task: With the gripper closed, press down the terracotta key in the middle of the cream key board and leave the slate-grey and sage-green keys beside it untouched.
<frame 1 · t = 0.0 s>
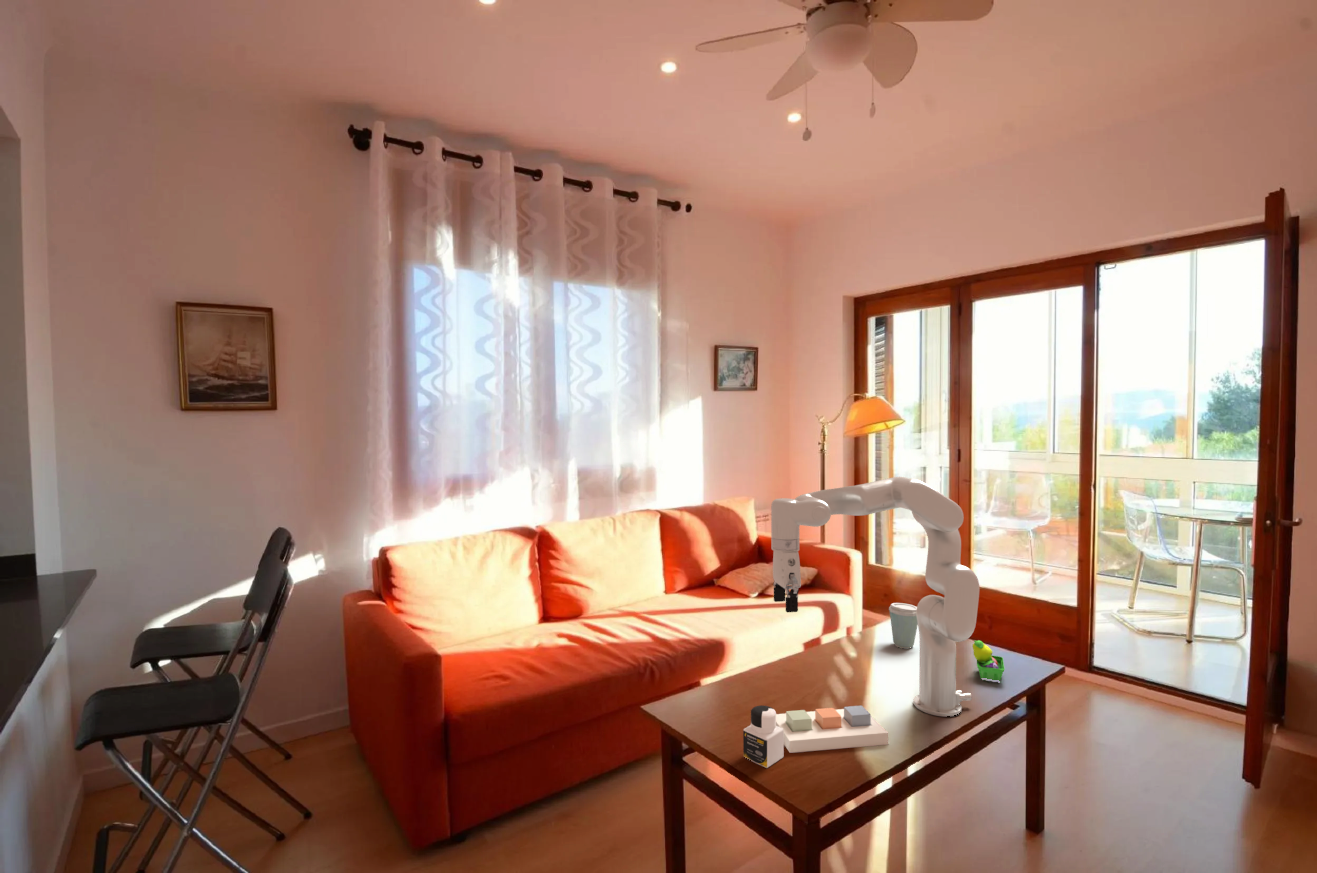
hand: (785, 606, 172), 31 cm above the table, tool pointing down, fingers open, 9 cm apart
disposable coffee cup: (904, 646, 227), on the table
key sage: (798, 722, 163), point 4 cm above the table, slide at 0.0 cm
key slate: (857, 718, 165), point 4 cm above the table, slide at 0.0 cm
key terracotta: (828, 720, 164), point 4 cm above the table, slide at 0.0 cm
fruit basket: (987, 677, 200), on the table
key board: (828, 734, 164), on the table
medicine bottle: (763, 758, 154), on the table
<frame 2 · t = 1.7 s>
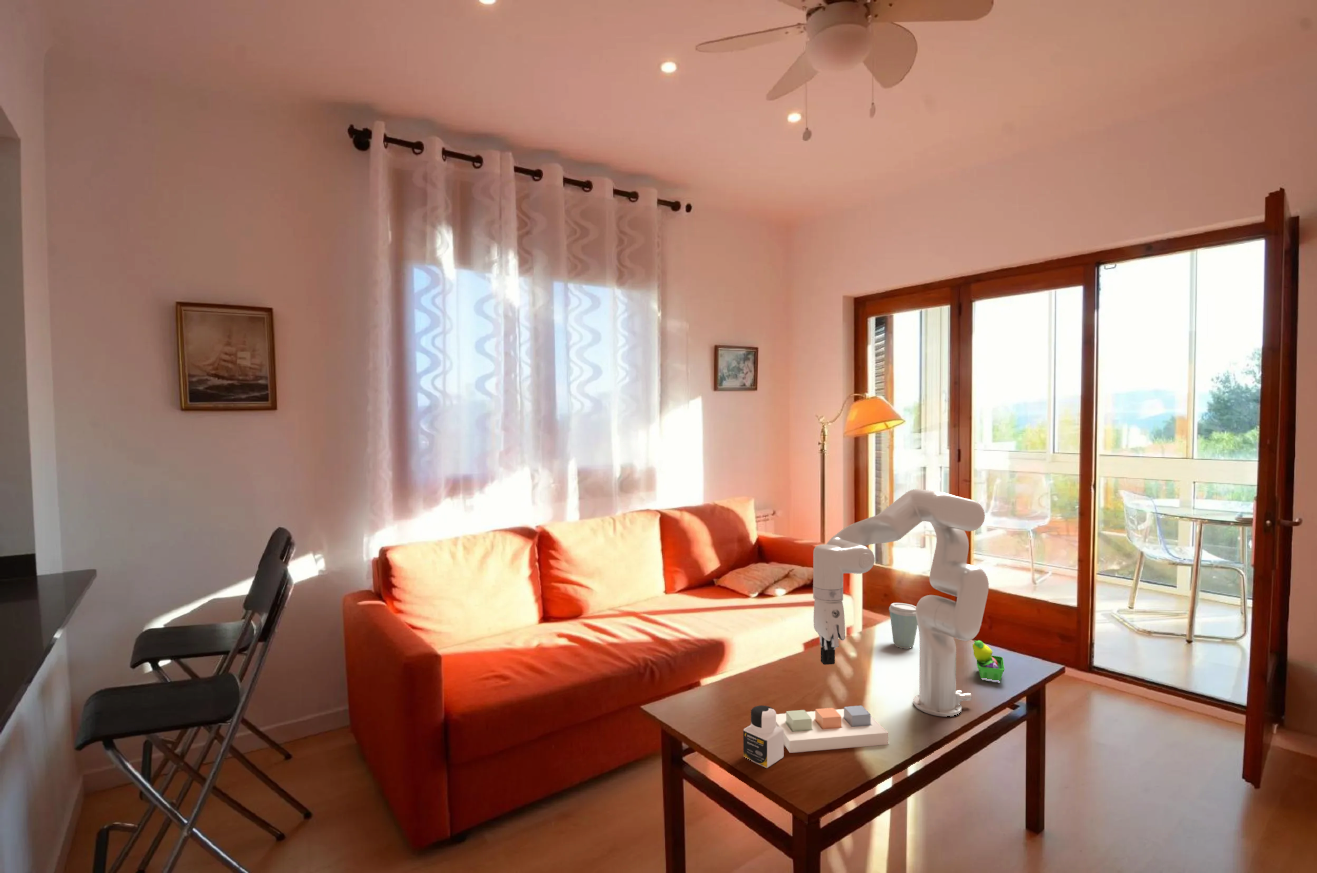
hand: (827, 663, 164), 19 cm above the table, tool pointing down, fingers closed
nothing on the table moved.
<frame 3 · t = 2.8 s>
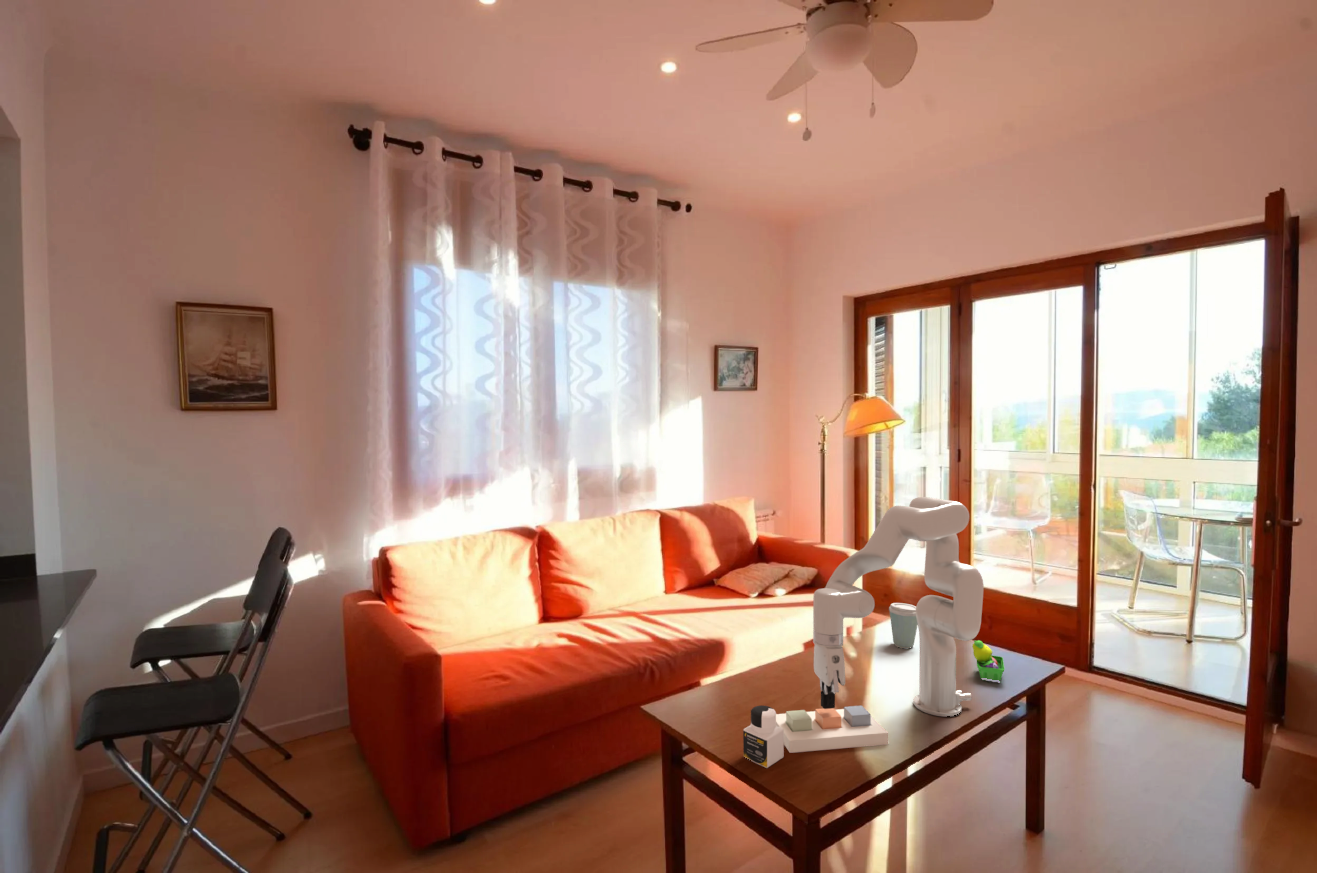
hand: (827, 707, 164), 7 cm above the table, tool pointing down, fingers closed
nothing on the table moved.
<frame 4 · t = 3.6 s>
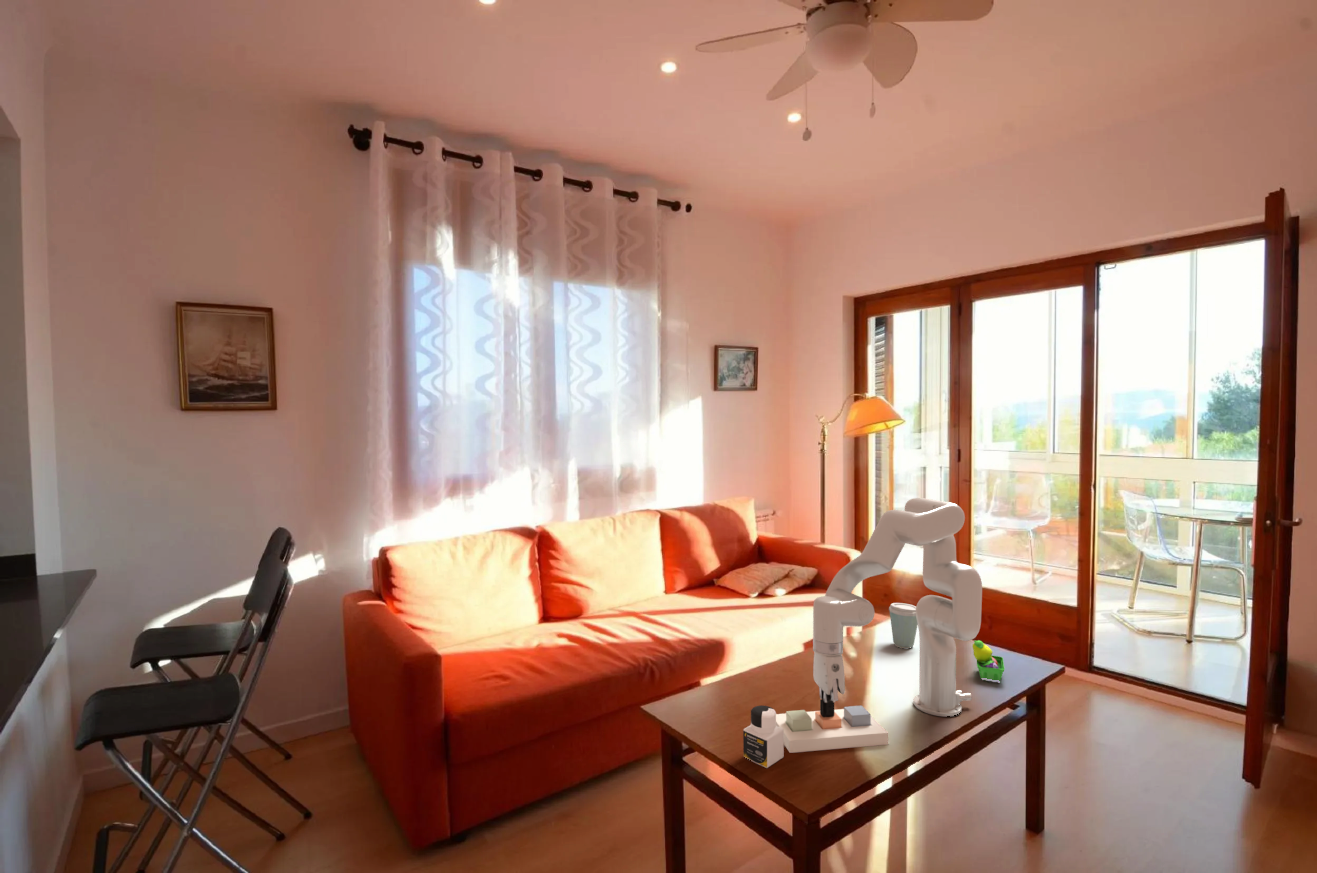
hand: (827, 715, 164), 5 cm above the table, tool pointing down, fingers closed
key terracotta: (828, 722, 164), point 3 cm above the table, slide at -0.7 cm, touching gripper
everything else where it was.
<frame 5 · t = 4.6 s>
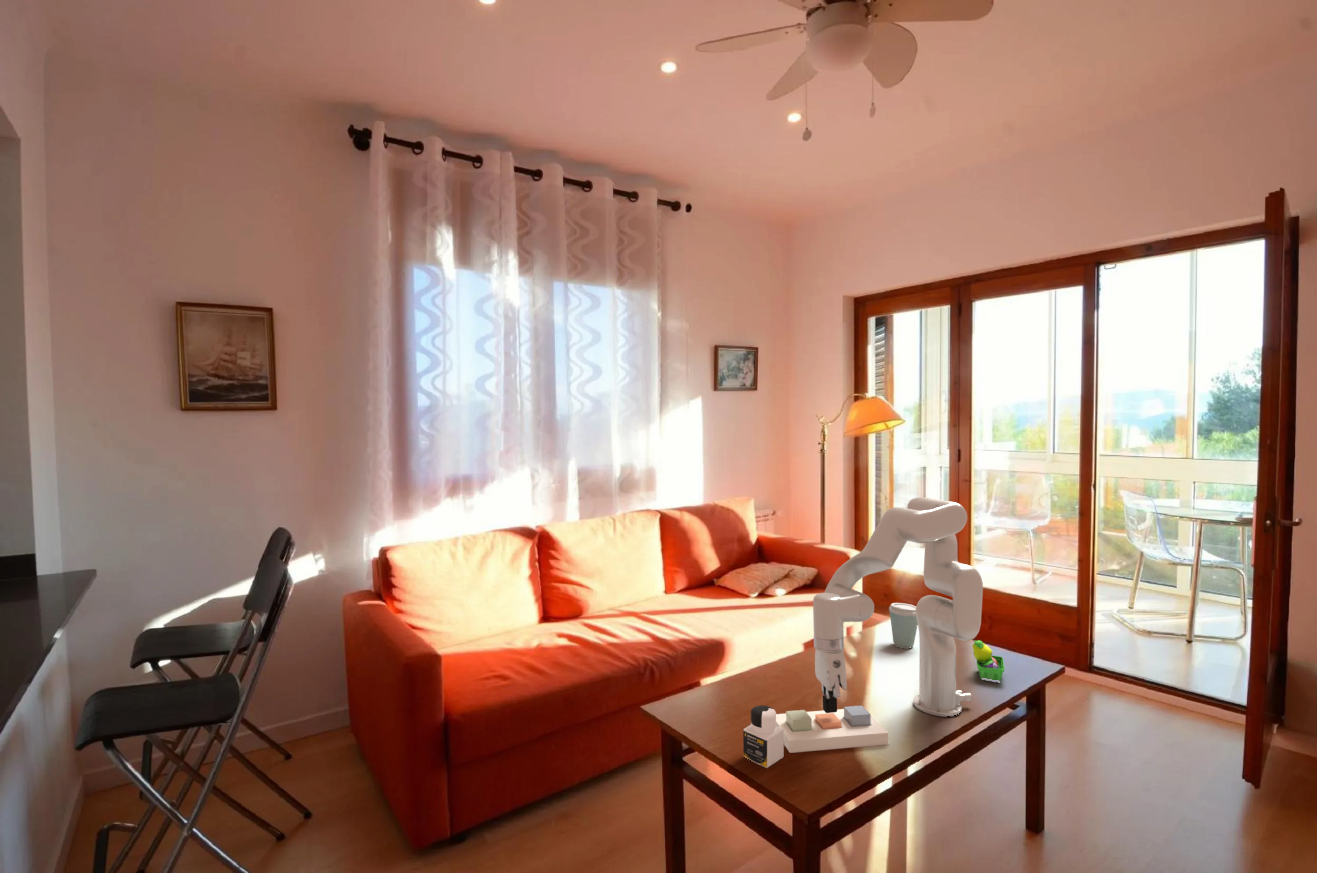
hand: (830, 711, 165), 6 cm above the table, tool pointing down, fingers closed
key terracotta: (828, 725, 164), point 2 cm above the table, slide at -1.4 cm
everything else where it was.
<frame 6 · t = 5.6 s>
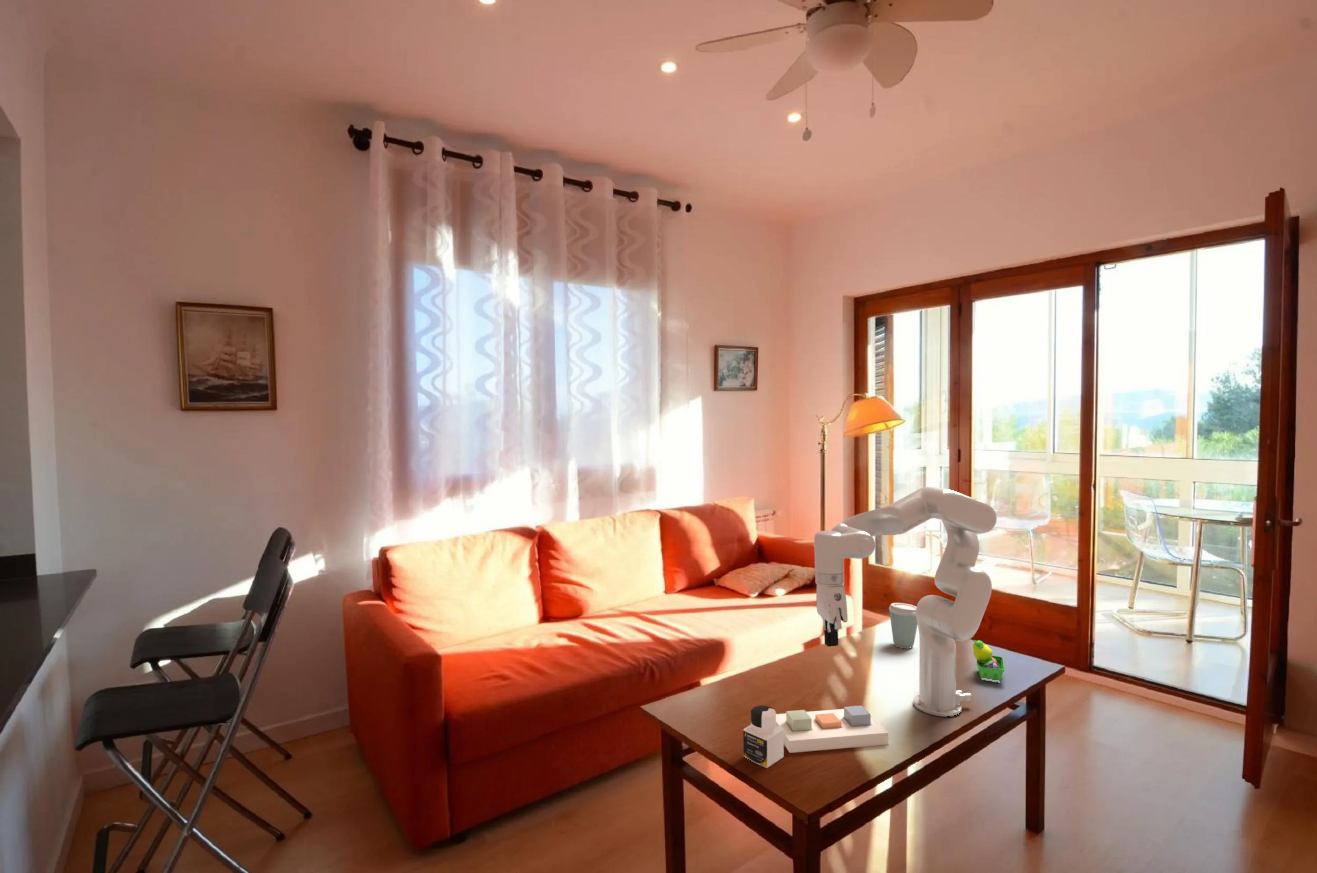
hand: (831, 645, 170), 22 cm above the table, tool pointing down, fingers closed
nothing on the table moved.
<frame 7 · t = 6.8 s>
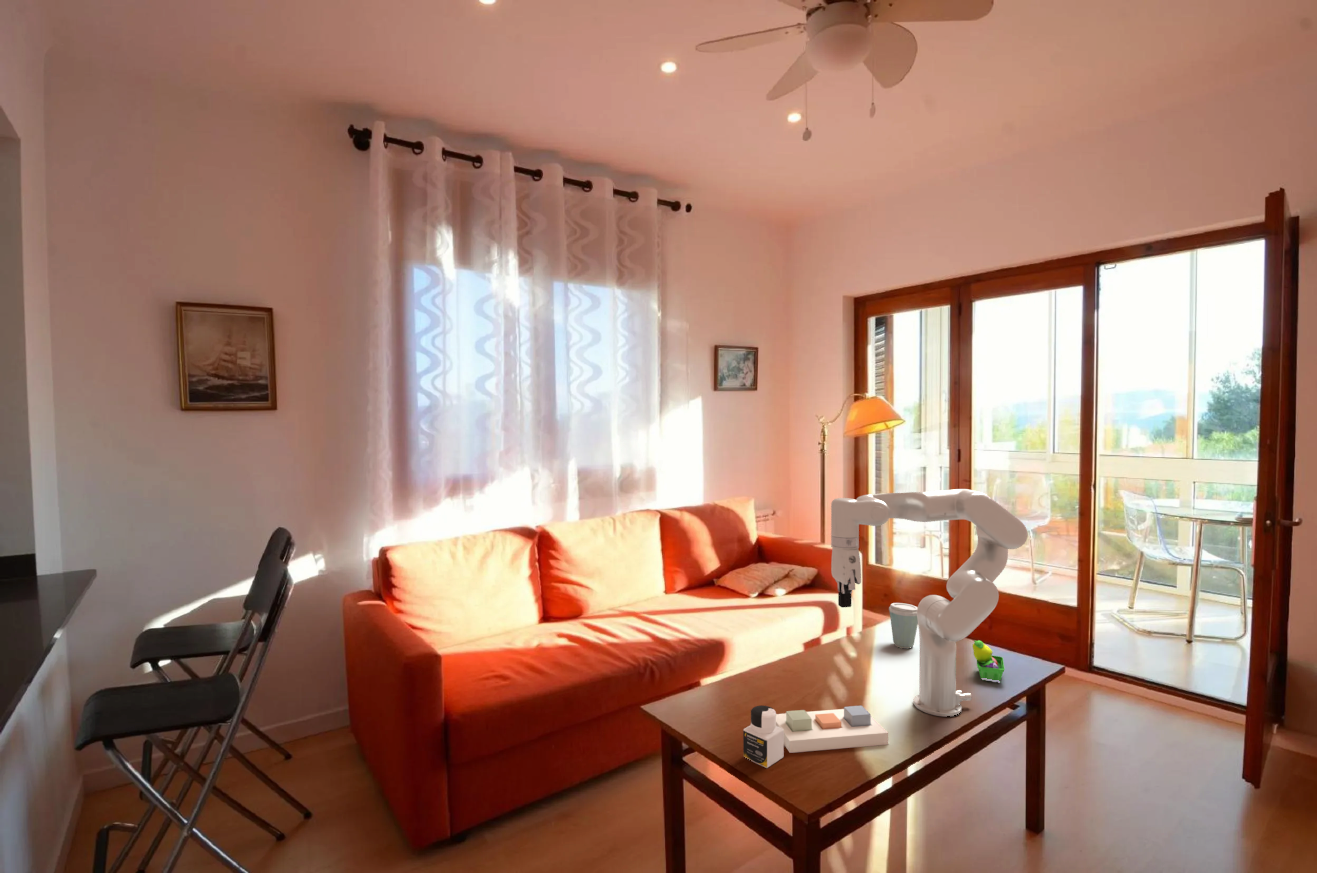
hand: (844, 606, 179), 29 cm above the table, tool pointing down, fingers closed
nothing on the table moved.
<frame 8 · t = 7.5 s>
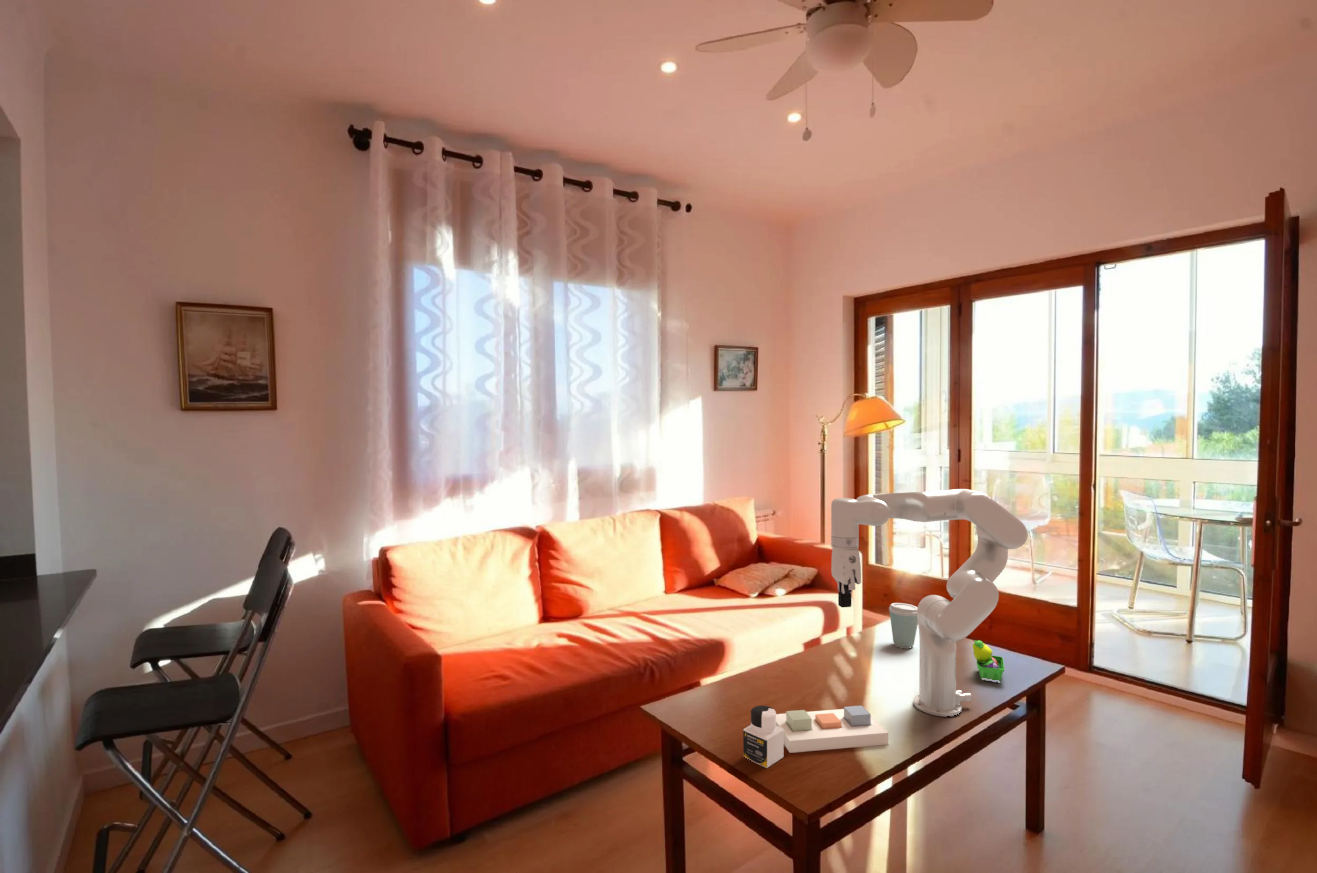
hand: (844, 606, 179), 29 cm above the table, tool pointing down, fingers closed
nothing on the table moved.
at the end: key terracotta slide at -1.4 cm; key slate slide at 0.0 cm; key sage slide at 0.0 cm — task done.
